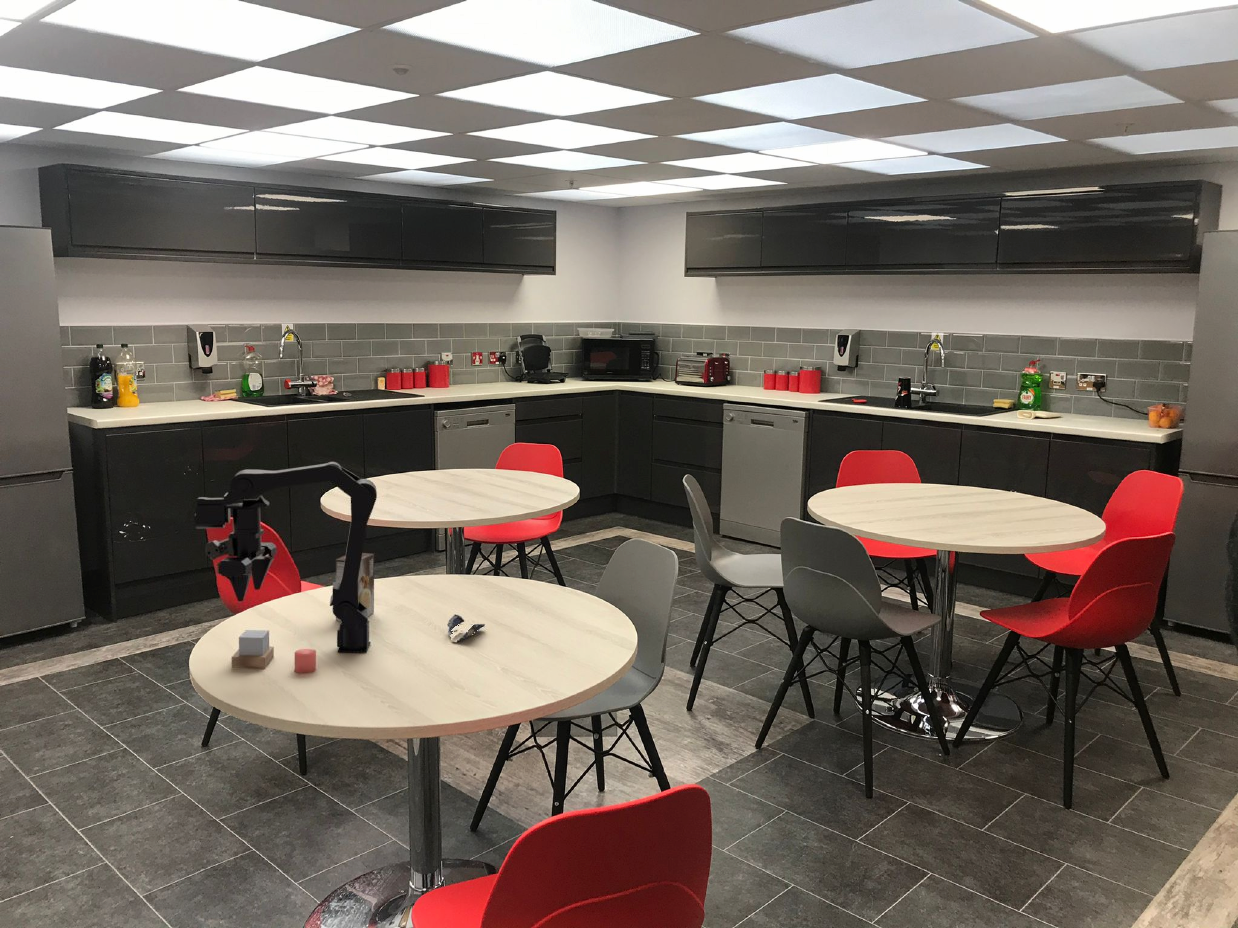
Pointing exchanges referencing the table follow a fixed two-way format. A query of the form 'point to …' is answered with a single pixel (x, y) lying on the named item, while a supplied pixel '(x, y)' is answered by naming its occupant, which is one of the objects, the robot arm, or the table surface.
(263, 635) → the grey block
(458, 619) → the snack package
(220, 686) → the table surface
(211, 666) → the table surface
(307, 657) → the red cylinder
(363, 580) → the coffee box
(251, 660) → the walnut slab
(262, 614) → the table surface
